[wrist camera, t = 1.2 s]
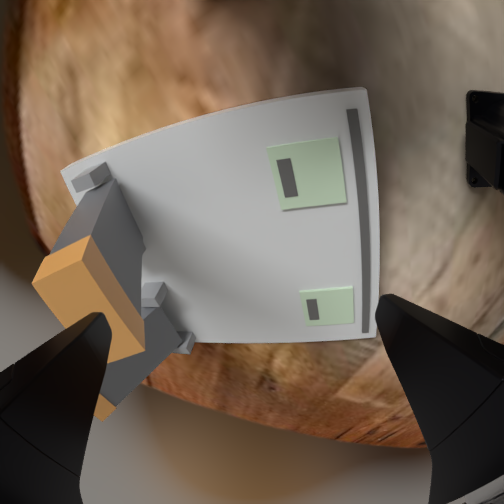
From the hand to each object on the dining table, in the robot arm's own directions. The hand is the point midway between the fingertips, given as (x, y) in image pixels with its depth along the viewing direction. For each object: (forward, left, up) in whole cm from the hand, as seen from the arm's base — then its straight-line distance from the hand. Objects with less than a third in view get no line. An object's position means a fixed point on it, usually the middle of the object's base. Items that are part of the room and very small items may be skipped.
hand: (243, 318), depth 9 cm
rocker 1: (+12, 0, -10) cm, 16 cm away
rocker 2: (+12, +11, -10) cm, 20 cm away
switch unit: (+5, +5, -12) cm, 14 cm away
